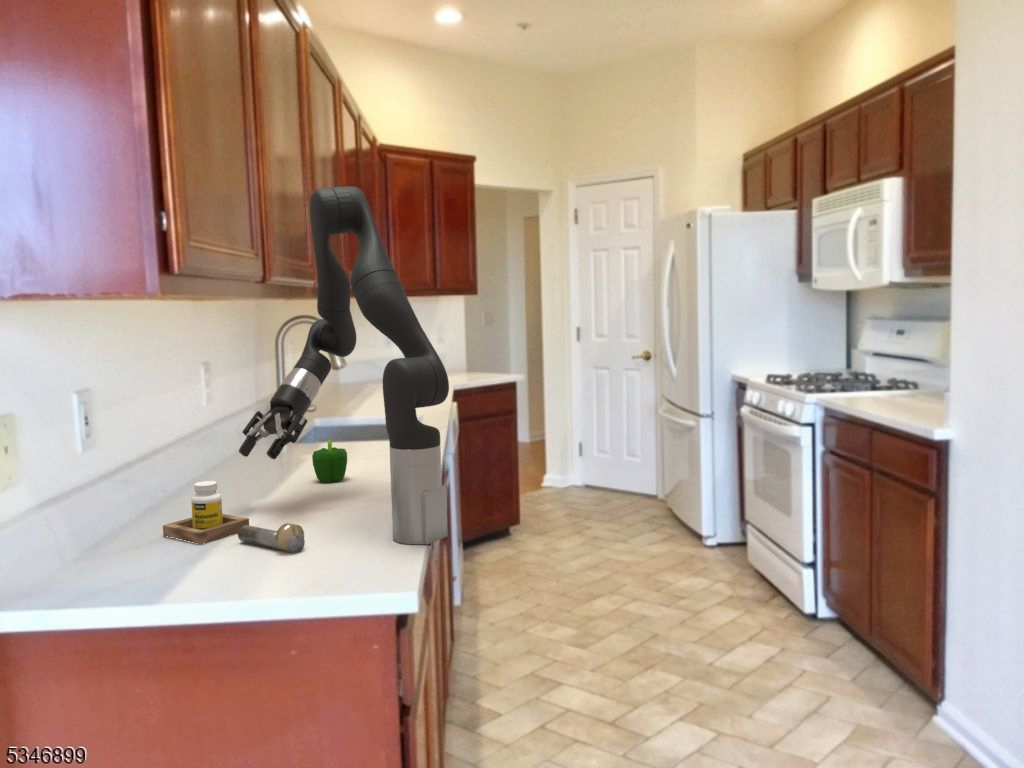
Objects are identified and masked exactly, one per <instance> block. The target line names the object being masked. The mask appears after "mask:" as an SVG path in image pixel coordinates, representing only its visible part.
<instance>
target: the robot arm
mask: <svg viewBox="0 0 1024 768" xmlns="http://www.w3.org/2000/svg"><path fill="white" fill-rule="evenodd" d="M309 218H310V219H309V220H310V229H311V237H312V245H313V252H314V253H313V254H314V260H315V267H316V276H317V278H316V279H317V290H316V291H317V297H316V299H317V300H316V301H317V303H316V308H317V309H316V310H317V313H318V315H319V317H321V318H320V319H317V320H316V321H314V322H313V323H312V324H311V326H310V328H309V330H308V334H307V338H306V342H305V344H304V345H305V346H304V348H303V350H302V353H301V355H300V358H299V359H298V360H297V361H296V363H295V365H294V366H293V368H292V369H291V371H290V372H289V373H287V375H286V376H285V378H284V379H283V381H282V383H281V384H280V385H279V387H278V388H277V389H276V391H275V393H274V394H273V396H272V397H271V398H270V401H269V404H270V405H269V406H270V409H268V411H267V412H266V413H262V412H261V411H260V410H259V411H256V412H255V413H254V415H253V416H252V417H251V419H250V421H249V422H248V423H247V425H246V426H245V427H244V428H243V430H242V432H241V433H242V434H243V435H244V436H245V437H246V438H245V439H244V441H243V442H242V444H241V446H240V447H239V449H238V453H239V454H240V455H242V457H245V458H247V457H249V455H250V454H251V452H252V451H253V449H254V447H256V445H257V442H259V441H260V440H262V439H264V438H265V439H266V438H268V437H269V436H270V435H277V436H276V437H277V438H275V439H274V440H273V442H272V443H271V445H270V447H269V448H268V450H267V451H266V455H267V457H269V458H270V459H271V460H276V459H277V457H278V456H279V455H280V454H281V452H282V451H283V449H284V447H285V446H287V445H289V444H290V443H292V444H295V443H296V442H297V440H299V437H300V436H301V434H302V432H303V431H304V429H305V427H306V425H307V423H308V419H306V417H305V414H306V413H307V411H308V409H309V408H310V406H311V404H312V403H313V402H314V400H315V398H316V397H317V395H318V392H319V391H320V388H321V386H322V385H323V383H324V382H325V380H326V379H327V377H328V376H329V374H330V372H331V370H332V363H331V361H330V359H329V358H328V357H327V356H325V354H323V353H321V352H320V351H322V352H324V353H328V354H331V355H333V356H336V357H340V358H346V357H348V356H349V355H351V354H352V353H353V352H354V350H355V348H356V346H357V345H356V344H357V331H356V327H355V324H354V321H353V316H352V312H351V293H352V294H353V296H354V299H355V301H356V304H357V306H358V309H359V310H360V312H361V314H362V316H363V317H364V318H365V319H366V320H367V321H368V322H369V324H370V325H372V326H373V327H374V328H375V329H376V330H378V331H379V332H380V333H381V334H383V335H384V336H385V337H386V338H387V339H388V340H390V341H391V342H392V343H393V344H394V345H395V346H396V347H397V348H398V349H399V351H401V354H402V355H403V357H401V358H394V359H391V360H389V361H388V362H387V363H386V365H385V368H384V369H383V374H382V394H383V397H382V398H383V406H384V407H383V408H384V418H385V428H386V431H387V434H388V435H387V436H388V440H389V465H390V466H389V467H390V471H389V472H390V493H391V495H390V496H391V519H392V539H393V541H395V542H396V543H400V544H403V545H404V544H407V545H419V544H420V545H421V544H422V545H429V544H433V543H434V542H438V541H439V540H441V539H444V538H446V537H448V536H449V535H448V533H449V532H448V507H447V506H448V502H447V501H448V500H447V498H448V497H447V496H448V495H447V486H446V485H444V484H442V455H441V454H442V452H441V450H442V449H441V432H440V430H439V429H438V428H437V427H435V426H432V425H428V424H425V423H422V422H421V421H420V420H419V419H418V415H417V409H420V408H421V409H422V408H426V407H428V408H429V407H434V406H438V405H441V404H443V403H444V402H445V401H446V399H447V398H448V395H449V391H450V383H449V377H448V373H447V371H446V368H445V366H444V363H443V361H442V359H441V358H440V356H439V355H438V353H437V351H436V349H435V348H434V346H433V344H432V342H431V341H430V339H429V337H428V336H427V334H426V333H425V331H424V329H423V327H422V325H421V323H420V321H419V320H418V317H417V316H416V313H415V311H414V308H412V305H411V303H410V301H409V298H408V296H407V294H406V291H405V288H404V286H403V284H402V282H401V280H400V277H399V275H398V273H397V272H396V270H395V268H394V265H393V263H392V261H391V260H390V256H389V254H388V252H387V250H386V248H385V247H384V243H383V241H382V238H381V236H380V233H379V231H378V228H377V225H376V222H375V217H374V215H373V213H372V209H371V207H370V205H369V201H368V200H367V197H366V195H365V193H364V192H363V191H362V190H361V188H360V187H357V186H354V185H353V186H352V185H351V186H350V185H347V186H346V185H345V186H335V187H324V188H323V187H322V188H318V189H315V190H313V192H312V193H311V196H310V200H309ZM351 233H353V234H355V235H356V237H357V240H358V243H359V246H358V252H357V256H356V259H355V262H354V264H353V267H352V270H351V275H350V278H349V275H348V273H347V271H346V270H345V268H344V267H343V265H342V264H341V262H340V261H339V260H338V258H337V256H336V255H335V253H334V251H333V249H332V247H331V236H333V235H334V236H335V235H342V234H344V235H345V234H351ZM351 291H352V292H351ZM262 427H263V428H262ZM293 433H294V434H293Z"/></svg>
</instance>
